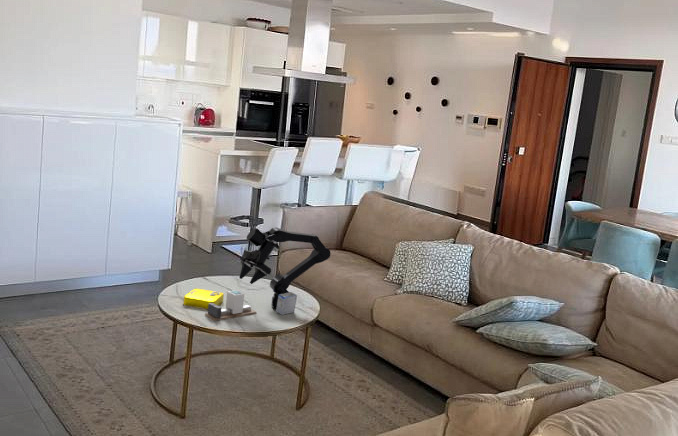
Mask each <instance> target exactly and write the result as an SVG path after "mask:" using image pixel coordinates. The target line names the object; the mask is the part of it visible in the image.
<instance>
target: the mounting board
mask: <svg viewBox="0 0 678 436" xmlns="http://www.w3.org/2000/svg"><path fill="white" fill-rule="evenodd" d="M256 314H257V311H256V310H253V309H252V308H251V310H250V311H244V312H242V313H236V314H227V315H221V318H215V317H213V316H211V315H210V314H208V312H206V313H204V316H206V317H208V318H209V319H211V320H213V321H215V322H217V321H223V320H228V319H235V318H239V317H244V316H250V315H256Z"/></svg>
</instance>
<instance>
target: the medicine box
mask: <svg viewBox="0 0 678 436" xmlns="http://www.w3.org/2000/svg"><path fill="white" fill-rule="evenodd" d="M297 298H298V294H295V293H293V292H292V291H288V293H284V294H279V296H278V302H277V309H275V311H276V313H277V314H280V316H281V315H282V316H283V315H288V314H291V313H295V309H296V305H297Z"/></svg>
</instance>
